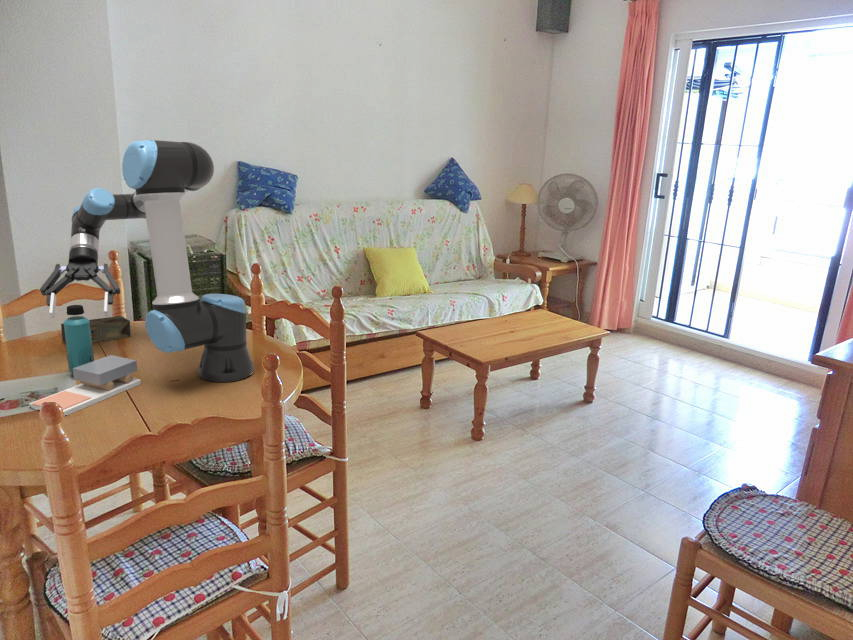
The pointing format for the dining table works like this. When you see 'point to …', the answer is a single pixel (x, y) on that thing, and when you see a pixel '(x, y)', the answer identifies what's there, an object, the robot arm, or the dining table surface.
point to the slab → (105, 370)
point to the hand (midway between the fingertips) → (79, 314)
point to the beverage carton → (106, 329)
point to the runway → (88, 394)
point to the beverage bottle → (78, 338)
